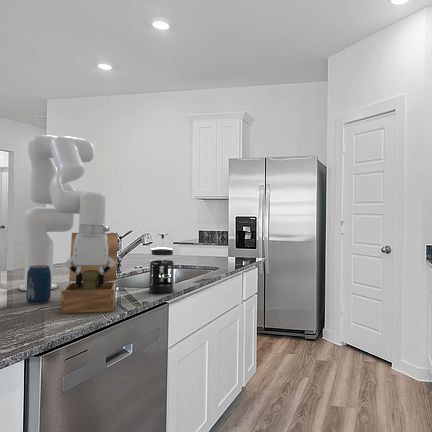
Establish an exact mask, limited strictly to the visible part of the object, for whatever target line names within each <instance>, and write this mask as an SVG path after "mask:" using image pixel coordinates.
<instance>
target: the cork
mask: <svg viewBox="0 0 432 432" xmlns="http://www.w3.org/2000/svg"><path fill="white" fill-rule="evenodd" d="M98 277H99V273H98V271H96V270H86V271H83V272H82V275H81V278H82V280H83V281H82V283H83V284H82V290H98V285H97V282H98V281H97V280H98Z"/></svg>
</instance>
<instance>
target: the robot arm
mask: <svg viewBox="0 0 432 432" xmlns="http://www.w3.org/2000/svg"><path fill="white" fill-rule="evenodd" d="M27 152H28V157H29V161H30V165H31V173H30V188H29V198H30V200H31V202H32V203H34V204H37V205H51V206H53V207H31V208H28V209H26V210H25V212H24V214H23V217H22V218H23V219H22V220H23V226H24V234H25V236H24V237H25V245H24V246H25V250H24V282H23V284H21V285H20V286H19V290H20V291H24V292H27V272H28V270H29V268H30V266H42V265H45V266H49V268H50V270H51V290H56V289H57V288H58V284H57V283H53V282H54V281H53V280H54V279H53V278H54V250H55V249H54V247H55V246H54V245H55V244H54V241H53V239H52V237H51V236H50V235H49V234H48V233H64V232H69V231H71V230H72V229H73V227H74V223H75V215H76V214H77V215H79V217H78V233H79V234H77V235H76V239H75V244H74V252H73V255H72V256H71V255H70V257H71V258H70V257H69V258H68V259H67V260H66V261H65V262H64V266H65V267H66V268H68V269H69V270H70V269H71V270H72V271H73V272H74V273H75V274H76V281H75V283H76V285H78V288H80V287H81V286H82V283H83V281H82V278H81V275H82V274H81V269H82V267H83V266H98V267H99V271H100V273H99V277H98V281H97V282H98V287H101V284H103V283H104V282H105V281H104V274H105V273H106V272H107V271H108V270H109V269H110V268H112V267H113V266H114V265H115V264H116V263H115V262H114V261H113V259H112V258H111V257H110V256H109V255H108V238H107V235H104V233H108V232H110V227H109V226H106V202H107V201H106V200H107V199H106V194H105V193H103V192H99V191H97V192H96V191H83V190H76V188H75V186H74V185H73V183H71V182H73V181H76V180H78V179H80V178H82V176H83V175H85V172H86V171H85V170H86V168H85V165H84V163H90V162H91V161H93V159H94V157H95V154H96V153H95V146H94V144H93V143H92V142H91V141H90V140H88V139H85V138H79V137H73V136H68V135H67V136H66V135H59V136H58V135H50V134H34V135H32V136H31V137H29V141H28V143H27ZM52 159H53V160H52ZM72 261H73V264H74V265H76V266H78V267H77V268H76V267H75V266H73V265H72V264H71V262H72ZM108 261H109V263H110V264H109V265H108V266H106V267H105V268H104V267H103V265H106V264H107V262H108Z"/></svg>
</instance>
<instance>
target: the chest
mask: <svg viewBox="0 0 432 432" xmlns="http://www.w3.org/2000/svg"><path fill="white" fill-rule="evenodd" d="M82 284H83V282H82ZM97 285H98V281H97ZM116 296H117V281H104V283H103V284H101V287H98V290H82V286H81V287H80V288H78V285H76V282H69V283H67V285H66V286H64V288H63V289H62V290H61V293H60V314H62V315H63V314H82V313H83V314H85V313H104V312H105V313H107V312H109V313H110V312H114V309H115V306H116V301H117V300H116V299H117V297H116Z"/></svg>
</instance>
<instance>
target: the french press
mask: <svg viewBox="0 0 432 432" xmlns="http://www.w3.org/2000/svg"><path fill="white" fill-rule="evenodd" d="M157 236H161V237H160V238H161V239H162V240H161V247H155V248H150V249H149V250H150V251H151V255H152V256H161V259H156V260H155V259H154V260H150V261H149V283H148V285H149V286H148V287H149V288H148V293H149V294H151V295H152V294H153V295H167V294H173V293H174V265H175V264H174V263H175V261H174V260H170V259H169V260H167V259H163V256H172V255H174V251H175V248H170V247H164V239H165V236H169V233H166V232H165V233H164V232H163V233H157ZM169 267H170V268H171V269H170V270H171V271H170V274H169ZM160 269H161V270H160ZM160 279H161V280H163V281H160ZM169 279H170V281H169Z"/></svg>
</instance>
